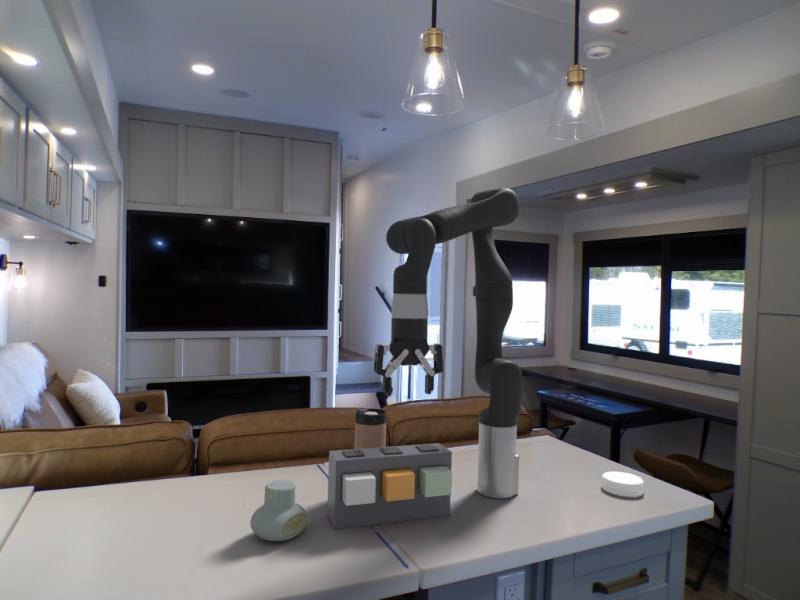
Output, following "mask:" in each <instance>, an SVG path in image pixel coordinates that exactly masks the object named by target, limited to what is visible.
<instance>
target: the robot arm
mask: <svg viewBox="0 0 800 600" xmlns="http://www.w3.org/2000/svg"><path fill="white" fill-rule="evenodd" d="M519 213H520V201H519V198H518V196H517V194H516V193H515V191H514V190H512V189H510V188H506V187H499V188H494V189H493V188H492V189H488V190H483V191H479V192H476V193H475V194H473V196H472V197H471V199H470V202H469V203H465V204H460V205H455V206H450V207H446V208H441V209H438V210H436V211H435V210H434V211H432V212H429V213H427V214H425V215H421V216H420V215H419V216H415V217H411V218H405V219H401V220H397V221H395V222H394V223H392V224H391V225H390V226H389V227H388V230H387V232H386V238H385V241H386V244H387V246H388V248H389V249H390V250H391V251H392V252H394V253H396V254H399V255H400V254H401V255H407V257H406V261H405V262H404V263H403V264H401V265H398V266H396V267H395V268H394V270H393V279H392V280H393V282H392V283H393V285H392V288H393V289H392V293H393V294H392V301H391V322H390V324H391V327H390V328H391V329H390V330H391V331H390V332H391V333H390V334H391V335H390V336H391V337H390V343H389V345H387V344H385V345H384V344H380V343H377V344H376V345H375V351H374V364H373V372H374V373H375V374H377V375H380V376H382V391H383V393H385V395H386V396H387V397H388V396H389V397H391V396H392V389H393V388H392V383H393V378H392V374H394V372H395V370H396V369H398V367H399V366H400V365H401V366H418V365H419V366H420V367H421V368H422V369H423V371H424V372H425V373H426V374H425V375H424V393H425V394H427V395H431V394H432V392H434V390H435V386H434V385H435V376H436V375H438V374H442V373H443V371H444V362H443V361H444V360H443V355H444V354H443V345H442V344H440V343H436V342H435V343H434V344H429V343H428V324H429V323H428V322H429V321H428V320H429V303H428V302H429V301H428V275H429V274H428V273H429V271H430V270H429V269H430V267H431V263H432V259H433V256H434V252H435V248H436V245H440V244H444V243H446V242H449V241H452V240H454V239H455V240H456V239H457V238H459V237H462V236H464V235H467V234H470V233H471V237H472V244H473V245H472V246H473V254H474V257H473V259H474V271H475V272H474V275H475V276H474V277H475V282H474V287H475V288H474V290H475V308H476V309H475V310H476V315H475V316H476V349H475V361H474V362H475V364H474V378H475V379H474V380H475V382H476V386H477V387H478V389H480V390H481V391H482V392H484V393H486V394H489V404H488V407H486V408H483V409H481V410H480V412H479V417H478V419H479V420H478V422H479V423H478V449H477V451H478V452H477V453H478V457H477V482H476V484H477V488H476V489H477V493H478V494H480V495H482V496H484V497H487V498H491V499H499V500H500V499H510V498H512V497H514V496H516V495H519V484H520V483H519V481H520V479H519V475H520V456H519V455H518V454H517V431H518V429H517V427H518V424H517V423H518V418H519V417H520V413H521V410H522V409H521V408H522V399H523V398H522V397H523V385H524V384H523V372H522V369H521V368H520V366H519V364H517V362H514V361H511V360H508V359H503V347H502V346H503V345H502V344H503V341H502V340H503V335H504V331H505V329H506V326H507V324H508V321H509V319H510V317H511V314H512V311H513V307H514V292H513V291H514V289H513V287H514V286H513V278H512V276H511V273H510V271H509V269H508V267H507V266H506V265H505V263H504V261H503V260H502V258H501V257H500V255H499V253H498V251H497V248H496V245H495V240H494V228H496V227H505V226H508V225H511V224H513V223H514V222H515V221H516V219H517V218H518V216H519ZM388 351H389V353H390V355H391V356H392V357H391V358H390V359H389V361H388V363H387V365H386V366H385V367H383V366H384V356H386V355H387V353H388ZM429 351H430V353H431V355H432V356H433V360H432V361H433V367H432V366H431V364H430V362H429V361H428V360H427V358H426V356H427V354H428V353H429ZM383 368H384V369H383Z"/></svg>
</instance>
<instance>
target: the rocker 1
mask: <svg viewBox="0 0 800 600" xmlns="http://www.w3.org/2000/svg"><path fill="white" fill-rule="evenodd" d="M375 488H376V478H375V477H374V475H373V474H372V473H371V472H370V471H365V472H353V473H342V474H341V498H342V500H343V501H344V503H345V505H346V506H349V505H358V504H368V503H375Z"/></svg>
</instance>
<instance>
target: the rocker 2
mask: <svg viewBox="0 0 800 600" xmlns="http://www.w3.org/2000/svg"><path fill="white" fill-rule="evenodd" d="M452 478H453V471H452V469H451V470H450V469H448V468H447V467H446V466H445V465H435V466H424V467H419V472H418V491H419V492H420V493H421V494H422V495H423V496H424V497H433V496H443V495H452V490H453V489H452V486H453V485H452V484H453V483H452V480H453V479H452Z"/></svg>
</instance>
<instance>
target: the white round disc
mask: <svg viewBox="0 0 800 600" xmlns="http://www.w3.org/2000/svg"><path fill="white" fill-rule="evenodd" d="M644 485H645V483H644V480H643V479H642V477H640V476H638V475H636V474H632V473H628V472H625V471H624V472H622V471H605V472H604V473H603V474H602V475H601V488H602V490H604V491H605V492H606V493H609V494H611V495H615V496H619V497H626V498H638V497H641V496H643V495H644V493H645V491H644V488H645V486H644Z"/></svg>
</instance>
